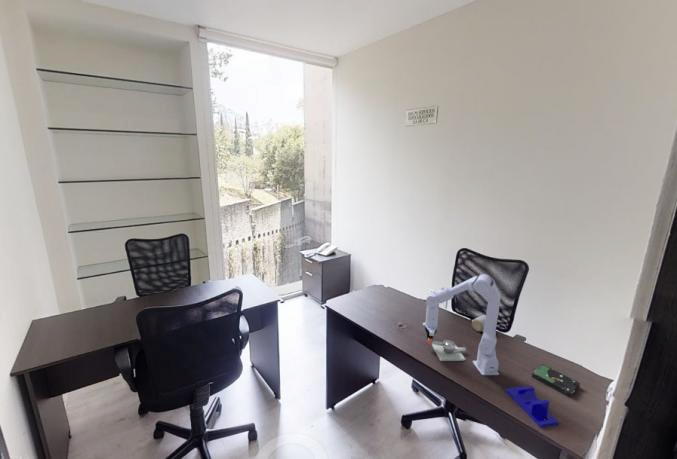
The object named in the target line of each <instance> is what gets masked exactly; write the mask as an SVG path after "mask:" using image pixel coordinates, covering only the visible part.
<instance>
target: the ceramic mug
mask: <svg viewBox="0 0 677 459" xmlns="http://www.w3.org/2000/svg"><path fill="white" fill-rule="evenodd" d="M485 319H486V314H481V315H480V316H477V317H476V318H474V319H473V320H472V321H471V326H472V328H473V330H475V331H476V332H483V333H484V326H485ZM483 333H482V334H483Z"/></svg>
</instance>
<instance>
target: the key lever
mask: <svg viewBox="0 0 677 459" xmlns="http://www.w3.org/2000/svg"><path fill="white" fill-rule="evenodd" d="M432 344H434V345H439V346H442V347H443V348H444V349H446V350H448V351H453V350H455V345H456V343H455V342H454V341H452V340H450V339H444V340H442V341H437V340H432V338H431V337H429V338H428V340H427V345H430V346H432Z"/></svg>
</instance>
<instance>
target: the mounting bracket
mask: <svg viewBox="0 0 677 459" xmlns="http://www.w3.org/2000/svg"><path fill="white" fill-rule="evenodd" d="M505 392H506V393H507V394H508V395H509V396H510V397H511V399H513V401H514V402H516V403H517V405H518V404H519V405H520V406H519V405H518V406H519V407H520V408H521V409H522V410H523V411H524V412H525V413H526V414H527V415H528V417H530V418H531V420H533V421H534V422H535V424H537V425H538V427H539V428H540V427H541V428H540V429H542V427H544V428H549V427H548V426H550V427H554V425H555V426H558V425H559V421H558V420H557V418H555V417H554V416H553V415H552V413H550V412H549V406H550V401H549V400H548V399H543V400H542V399H541V400H540V399H539V398H538V397H537V394H536V391H535V387H534V386H533V385H531V386H530V385H529V386H524V387H523V386H515V387H508V388H507V387H506V389H505ZM544 419H545V420H544Z"/></svg>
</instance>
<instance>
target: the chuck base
mask: <svg viewBox="0 0 677 459" xmlns="http://www.w3.org/2000/svg"><path fill="white" fill-rule="evenodd" d="M431 346H432V348H433V351H434V352H435V353H436V356H437V357H438V359H439V361H440V362H446V361H448V362H449V361H450V362H451V361H452V362H453V361H454V362H457V361H463V362H464V361H466V358H465V356H464V355H463V354H462V352H466V351H467V349H466V347H458V346H457V344H455V350H453V351H448V350H446V349H444V348H443V347H442V346H439V345H434V344H432V345H431Z"/></svg>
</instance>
